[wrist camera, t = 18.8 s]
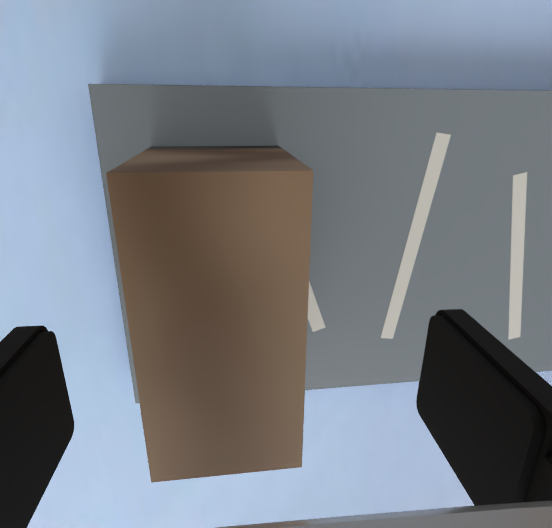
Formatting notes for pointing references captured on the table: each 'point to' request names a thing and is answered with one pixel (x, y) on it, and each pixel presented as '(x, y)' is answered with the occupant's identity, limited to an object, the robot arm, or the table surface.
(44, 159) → the table surface
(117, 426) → the table surface
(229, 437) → the block
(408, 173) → the board
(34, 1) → the table surface
